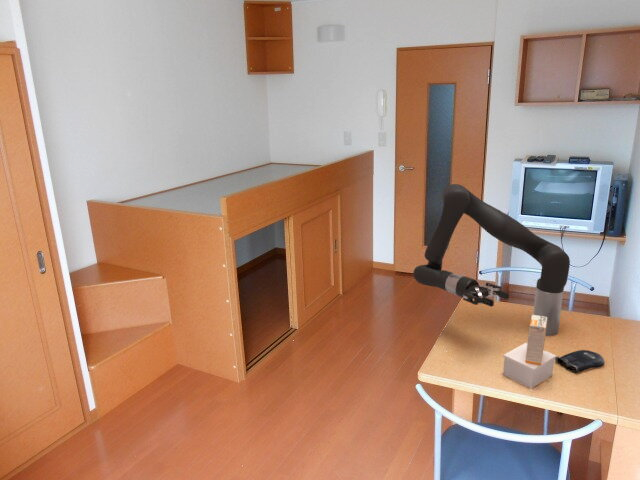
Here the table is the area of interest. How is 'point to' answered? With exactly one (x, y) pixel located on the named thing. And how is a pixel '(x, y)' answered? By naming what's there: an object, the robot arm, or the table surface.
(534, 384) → the storage box
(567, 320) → the table surface
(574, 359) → the electronic device
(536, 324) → the supplement box
